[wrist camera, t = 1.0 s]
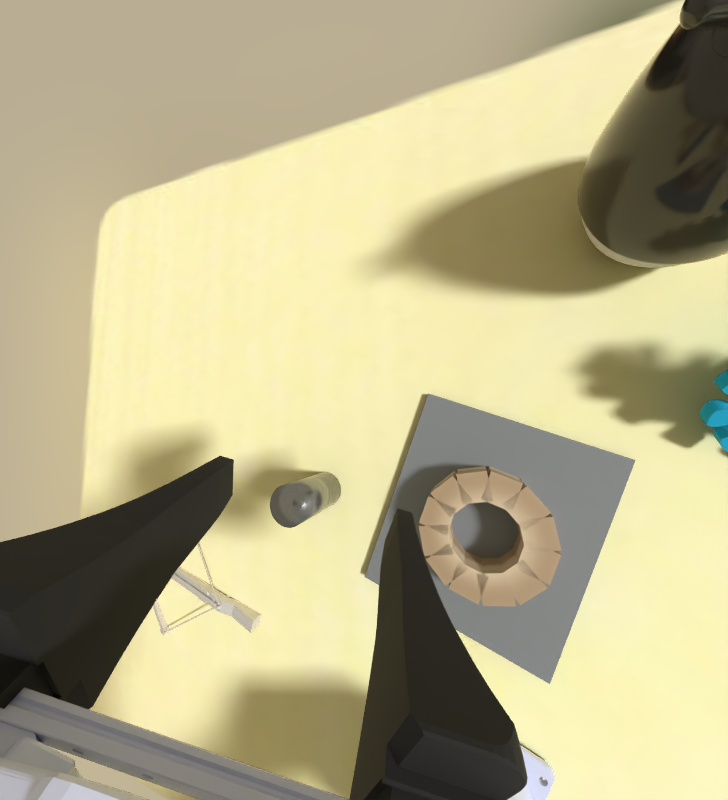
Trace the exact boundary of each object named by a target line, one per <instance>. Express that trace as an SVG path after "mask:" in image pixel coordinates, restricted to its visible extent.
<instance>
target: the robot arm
mask: <svg viewBox="0 0 728 800" xmlns="http://www.w3.org/2000/svg"><path fill="white" fill-rule="evenodd" d="M233 462H234V460H233V459H229V458H226V457H222V456H219V457H217V458H215V459H213V460H211V461H209V462H208V463H206V464H204V465H202V466H200V467H198V468H197V469H195V470H193V471H191V472H189V473H187V474H186V475H184V476H182V477H180V478H178V479H176V480H174V481H172V482H170V483H168V484H166V485H164V486H162V487H160V488H158V489H156V490H154V491H152V492H150V493H148V494H146V495H143V496H141V497H139V498H137V499H134V500H132V501H130V502H127V503H125V504H122V505H120V506H117V507H115V508H112V509H110V510H107V511H104V512H102V513H99V514H96V515H93V516H90V517H87V518H84V519H81V520H78V521H75V522H73V523H70V524H66V525H63V526H60V527H57V528H53V529H50V530H46V531H42V532H39V533H35V534H32V535H28V536H24V537H20V538H16V539H12V540H8V541H4V542H0V800H148V799H145V798H142V797H139V796H137V795H134V794H131V793H128V792H125V791H122V790H119V789H116V788H113V787H109V786H107V785H103V784H100V783H96V782H93V781H89V780H86V779H84V778H83V777H82V776H81V775H80V774H79V772H78V771H77V769H76V768H75V761H74V760H73V759H71V758H69V757H67V756H65V755H63V754H61V753H59V752H58V751H56V750H53V749H52V748H50V747H53V748H56V749H59V750H61V751H64V752H67V753H70V754H73V755H76V756H78V757H81V758H84V759H87V760H90V761H93V762H95V763H98V764H101V765H104V766H107V767H110V768H112V769H115V770H118V771H121V772H124V773H126V774H129V775H132V776H135V777H138V778H141V779H143V780H146V781H149V782H152V783H155V784H158V785H160V786H163V787H166V788H169V789H172V790H174V791H177V792H180V793H183V794H186V795H189V796H191V797H194V798H197V799H200V800H349V799H346V798H343V797H340V796H337V795H335V794H332V793H329V792H326V791H323V790H320V789H317V788H314V787H311V786H309V785H306V784H303V783H300V782H297V781H294V780H291V779H288V778H285V777H282V776H280V775H277V774H274V773H271V772H268V771H265V770H262V769H259V768H256V767H253V766H251V765H248V764H245V763H242V762H239V761H236V760H233V759H230V758H227V757H225V756H222V755H219V754H216V753H213V752H210V751H207V750H204V749H201V748H198V747H196V746H193V745H190V744H187V743H184V742H181V741H178V740H175V739H172V738H169V737H167V736H164V735H161V734H158V733H155V732H152V731H149V730H146V729H143V728H141V727H138V726H135V725H132V724H129V723H126V722H123V721H120V720H117V719H114V718H112V717H109V716H106V715H103V714H100V713H97V712H94V711H91V710H88V709H90V708H91V707H93V705H94V703H95V701H96V700H97V698H98V696H99V694H100V692H101V691H102V689H103V687H104V686H105V684H106V682H107V680H108V679H109V677H110V675H111V673H112V672H113V670H114V668H115V666H116V665H117V663H118V661H119V660H120V658H121V656H122V655H123V653H124V651H125V650H126V648H127V646H128V645H129V643H130V641H131V640H132V638H133V636H134V635H135V633H136V632H137V630H138V628H139V627H140V625H141V623H142V622H143V620H144V619H145V617H146V616H147V614H148V612H149V611H150V609H151V608H152V606H153V605H154V603H155V601H156V600H157V598H158V597H159V595H160V594H161V592H162V591H163V589H164V588H165V586H166V585H167V583H168V582H169V580H170V579H171V577H172V576H173V574H174V573H175V572H176V570H177V569H178V568H179V566H180V565H181V564H182V562H183V561H184V560H185V559H186V557H187V556H188V555H189V554H190V552H191V551H192V550H193V549H194V547H195V546H196V545H197V544H198V542H199V541H200V540H201V539H202V537H203V536H204V535H205V534H206V532H207V531H208V530H209V529H210V527H211V526H212V525H213V524H214V522H215V521H216V520H217V518H218V517H219V516H220V514H221V513H222V511H223V509H224V508H225V506H226V505H227V503H228V501H229V500H230V498H231V496H232V491H233ZM46 745H47V746H46ZM48 746H50V747H48ZM540 777H543V778H545V780H542V779H540ZM553 782H554V772H553V769H552V767H551V766H550V765H549V764H548V763H547V762H546V761H544V760H543V759H541V758H539V757H538V756H536V755H535V754H533V753H532V752H530V751H529V750H527V749H526V748H524V747H523V746H521V745H520V743H519V739H518V736H517V732H516V729H515V726H514V723H513V722H512V720H511V719H510V718H509V716H508V715H507V713H506V712H505V710H504V709H503V707H502V706H501V704H500V703H499V701H498V700H497V699H496V697H495V696H494V694H493V693H492V691H491V689H490V688H489V686H488V685H487V683H486V682H485V680H484V678H483V677H482V675H481V673H480V672H479V670H478V669H477V667H476V665H475V664H474V662H473V660H472V658H471V657H470V655H469V653H468V651H467V649H466V648H465V646H464V644H463V642H462V641H461V639H460V637H459V635H458V633H457V632H456V630H455V628H454V626H453V624H452V622H451V620H450V618H449V616H448V613H447V611H446V609H445V607H444V605H443V603H442V601H441V598H440V596H439V594H438V591H437V589H436V586H435V584H434V581H433V579H432V576H431V574H430V571H429V568H428V565H427V562H426V559H425V556H424V553H423V550H422V547H421V544H420V540H419V537H418V533H417V530H416V525H415V521H414V516H413V514H412V512H408V511H405V510H401V509H398V508H397V510H396V513H395V516H394V518H393V521H392V523H391V526H390V529H389V531H388V534H387V536H386V539H385V543H384V548H383V554H382V561H381V568H380V583H379V599H378V615H377V629H376V639H375V646H374V653H373V660H372V667H371V674H370V680H369V687H368V693H367V700H366V706H365V712H364V718H363V724H362V731H361V737H360V743H359V748H358V754H357V760H356V766H355V772H354V777H353V783H352V789H351V794H350V800H547V797H548V794H549V792H550V789H551V787H552V784H553Z"/></svg>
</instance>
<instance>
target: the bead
mask: <svg viewBox="0 0 728 800" xmlns="http://www.w3.org/2000/svg"><path fill="white" fill-rule="evenodd" d="M480 502H489V503H491V504H493V505H496V506H498V507H500V508H503V509H505V510H507V512H508V513H509V514H510V515H511V516H512V517H513V518H514V520H515V521H516V522H517V527H518V531H519V533H518V535H517V538H516V541H515V543H514V546H513V548H512V549H510V550H509V551H507V552H506V553H504V554H503V555H502V556H500V557H489V558H481V557H479V556H477V555H475V554H473V553H471V552H469V551H467V550H465V549H464V548H463V546H462V545H461V544H460V543H459V541H458V540H457V539H456V538H455V536H454V533H453V528H452V523H451V522H452V519H453V516H454V514H455V513H456V512H458V511H459V510H460V509H462V508H463V507H464V506H466V505H467V504H469V503H480ZM419 523H420V525H419V531H420V536H421V542H422V547H423V552H424V556H427V558H426V561H427V562H428V563H429V565H430V566H431V567H432V569H433V570H434V571H435V573H436V574H437V575H438V577H439V578H440V579H441V581H442V582H443V583H444V585H445V586H446V585H447V584H449V589H450V590H452V591H454V592H456V593H458V594H459V595H461V596H463V597H465V598H467V599H469V600H471V601H472V602H474V603H476V604H478V605H479V602H480V600H481V599H482V604H483V606H516V603H515V599H516V600H517V602H518V603H519V604H520V605H522V604H523V603H525V602H527V601H528V600H530V599H531V598H533V597H534V596H536V595H538V594H539V593H541V592H542V591H544V590H546V589H547V587H546V584H545V583H547V584H549V585H550V584H551V581H552V579H553V576H554V573H555V571H556V568H557V565H558V563H559V560H560V557H561V554H560V552H559V551H562V550H561V546H560V542H559V538H558V534H557V529H556V525H555V521H554V517H553V516H552V515H551V512H550V511H549V510H548V509H547V507H546V506H545V505H544V504H543V503H542V502H541V501H540V500H539V498H538V497H537V496H536V495H535V494H534V493H533V492H532V491H531V490H530V489H529V488H528V486H527V485H526V484H525V483H524V482H523V481H522V480H520V479H519V478H518V477H516V476H513V475H511V474H508V473H505V472H503V471H500V470H498V469H495V468H492V467H490V466H489V468H488V471H487V470H486V466H480V467H472V468H464V469H458V470H457V473H456V472H455V471H453V472H452V473H451V474H450V475H448V476H447V477H446V478H444V479H443V480H442V481H441V482H439V483H438V484H437V485H436V486H434V488H433V489H432V491H431V493H430V494H429V496H428V498H427V501H426V504H425V507H424V510H423V513H422V515H421V518H420V521H419Z"/></svg>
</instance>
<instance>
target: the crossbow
mask: <svg viewBox="0 0 728 800" xmlns="http://www.w3.org/2000/svg"><path fill="white" fill-rule="evenodd" d="M198 547H199V550H200V553H201V556H202V559H203V562H204V565H205V568H206V571H207V574H208V577H209V580H210V583H211V585H209V584H208V583H206V582H205V581H203V580H202V579H200V578H198V577H196V576H195V575H193V574H191V573H189V572H188V571H186V570H184V569H183V568H181V567H179V568H178V569H177V570H176V572H175V573H174V574H173V576H172V577H171V578H172V579H174V580H175V581H176V582H178V583H179V584H181V585H182V586H183V587H185V588H186V589H188V590H189V591H190V592H192V593H193V594H195V595H196V596H197V597H199V599H200V600H202V601H203V602H206V603H207V604H209V605H210V606H212V607H213V608H214V609H216V610H217V611H219V612H220V613H224V614H227V615H230V616H232V617H233V618H234V619H235V620H237V621H238V622H239V623H240V624H241V625H242V626H243V627H245V628H246V629H247V630H248V631H249V632H250V633H251V632H252V631H253V630H254V629H256V628H257V627H258V626H259V624H260V620H261V615H262V614H260V613H258V612H257V611H255V610H253V609H251V608H250V607H248V606H246V605H245V604H243V603H241V602H239V601H238V600H235V599H232V598H230V596H229V595H224V594H223V593H221V592H220V591H218V590H217V589H215V588H214V587H213V585H212V582H211V579H210V576H209V573H208V570H207V567H206V564H205V561H204V558H203V555H202V552H201V549H200V546H199V543H198ZM153 607H154V611H155V614H156V616H157V619H158V622H159V625H160V627H161V629H160V630H161V633H162V634H163V635H164V634H166V633H168V632H169V630H171V629H173V628H175V627H177V626H179V625H181V624H183V623H185V622H187V621H189V620H191V619H193V618H195V617H197V616H199V615H201V614H203V613H205V612H207V611H209V610H211V609H213V608H211V609H209V610H207V611H205V612H203V613H201V614H199V615H197V616H195V617H193V618H191V619H189V620H187V621H185V622H183V623H181V624H179V625H177V626H175V627H173V628H171V629H169V628H168V626H167V623H166V621H165V619H164V616H163V614H162V612H161V609H160V606H159V603H158V600H156V601H155V603H154V605H153Z"/></svg>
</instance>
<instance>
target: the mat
mask: <svg viewBox="0 0 728 800" xmlns="http://www.w3.org/2000/svg"><path fill="white" fill-rule="evenodd" d="M634 462H635V460H633V459H630V458H627V457H624V456H621V455H617V454H614V453H611V452H608V451H605V450H602V449H599V448H596V447H593V446H590V445H586V444H583V443H580V442H577V441H574V440H571V439H568V438H565V437H562V436H559V435H555V434H552V433H549V432H546V431H543V430H540V429H537V428H534V427H531V426H527V425H524V424H521V423H518V422H515V421H512V420H509V419H506V418H503V417H500V416H496V415H493V414H490V413H487V412H484V411H481V410H478V409H475V408H472V407H468V406H465V405H462V404H459V403H456V402H453V401H450V400H447V399H444V398H441V397H437V396H434V395H431V394H428V396H427V399H426V402H425V405H424V408H423V411H422V414H421V417H420V419H419V422H418V425H417V428H416V431H415V434H414V437H413V439H412V442H411V445H410V448H409V451H408V454H407V457H406V460H405V462H404V465H403V468H402V471H401V474H400V477H399V480H398V483H397V485H396V488H395V491H394V494H393V497H392V500H391V503H390V506H389V508H388V511H387V514H386V517H385V520H384V523H383V526H382V529H381V531H380V534H379V537H378V540H377V543H376V546H375V549H374V551H373V554H372V557H371V560H370V563H369V566H368V569H367V572H366V574H365V577H366V578H368V579H370V580H371V581H373V582H375V583H376V584H378V585H379V583H380V568H381V561H382V554H383V548H384V543H385V539H386V536H387V534H388V531H389V529H390V526H391V523H392V521H393V518H394V516H395V513H396V510H397V508H398V509H401V510H405V511H408V512H412V514H413V516H414V521H415V525H416V530H417V533H418V537H419V540H420V544H421V547H422V542H421V536H420V531H419V525H420V523H419V521H420V518H421V515H422V513H423V510H424V507H425V504H426V501H427V498H428V496H429V494H430V493H431V491H432V489H433V488H434V486H436V485H437V484H438V483H439V482H441V481H442V480H443V479H444V478H446V477H447V476H448V475H450V474H451V473H452V472H453V471H455V472H456V473H457V470H458V469H464V468H472V467H480V466H486V470H487V471H488V468H489V466H490V467H492V468H495V469H498V470H500V471H503V472H505V473H508V474H511V475H513V476H516V477H518V478H519V479H520V480H522V481H523V482H524V483H525V484H526V485H527V486H528V488H529V489H530V490H531V491H532V492H533V493H534V494H535V495H536V496H537V497H538V498H539V500H540V501H541V502H542V503H543V504H544V505H545V506H546V507H547V509H548V510H549V511H550V512H551V515H552V516H553V517H554V521H555V525H556V529H557V534H558V538H559V542H560V546H561V550H562V551H559V552H560V554H561V557H560V560H559V563H558V565H557V568H556V571H555V573H554V576H553V579H552V581H551V584H550V585H549V584H547V583H545V584H546V587H547V589H546V590H544V591H542V592H541V593H539V594H538V595H536V596H534V597H533V598H531V599H530V600H528V601H527V602H525V603H523V604H522V605H520V604H519V603H518V602H517V600H516V599H515V603H516V606H483V604H482V599H481V600H480V602H479V605H478V604H476V603H474V602H472V601H471V600H469V599H467V598H465V597H463V596H461V595H459V594H458V593H456V592H454V591H452V590H450V589H449V584H447V585H446V586H445V585H444V583H443V582H442V581H441V579H440V578H439V577H438V575H437V574H436V573H435V571H434V570H433V569H432V567H431V566H430V565H429V563H428V562H427V561H426V562H427V565H428V568H429V571H430V574H431V576H432V579H433V581H434V584H435V586H436V589H437V591H438V594H439V596H440V598H441V601H442V603H443V605H444V607H445V609H446V611H447V613H448V616H449V618H450V620H451V622H452V624H453V626H454V628H455V629H456V630H458V631H459V632H461V633H463V634H465V635H466V636H468V637H470V638H471V639H473V640H475V641H477V642H478V643H480V644H482V645H484V646H485V647H487V648H489V649H490V650H492V651H494V652H496V653H497V654H499V655H501V656H503V657H504V658H506V659H508V660H509V661H511V662H513V663H515V664H516V665H518V666H520V667H522V668H523V669H525V670H527V671H528V672H530V673H532V674H534V675H535V676H537V677H539V678H540V679H542V680H544V681H546V682H547V683H549V684H550V682H551V679H552V677H553V674H554V671H555V669H556V666H557V664H558V661H559V658H560V656H561V653H562V650H563V648H564V645H565V643H566V640H567V637H568V635H569V632H570V630H571V627H572V624H573V622H574V619H575V617H576V614H577V611H578V609H579V606H580V603H581V601H582V598H583V596H584V593H585V590H586V588H587V585H588V583H589V580H590V577H591V575H592V572H593V569H594V567H595V564H596V562H597V559H598V556H599V554H600V551H601V549H602V546H603V543H604V541H605V538H606V536H607V533H608V530H609V528H610V525H611V522H612V520H613V517H614V515H615V512H616V509H617V507H618V504H619V502H620V499H621V496H622V494H623V491H624V489H625V486H626V483H627V481H628V478H629V475H630V473H631V470H632V468H633V465H634ZM451 523H452V528H453V533H454V536H455V538H456V539H457V540H458V541H459V543H460V544H461V545H462V546H463V548H464V549H465V550H467V551H469V552H471V553H473V554H475V555H477V556H479V557H481V558H489V557H500V556H502V555H503V554H504V553H506V552H507V551H509V550H510V549H512V548H513V546H514V543H515V541H516V538H517V535H518V533H519V531H518V527H517V522H516V521H515V520H514V518H513V517H512V516H511V515H510V514H509V513H508V512H507V510H505V509H503V508H500V507H498V506H496V505H493V504H491V503H489V502H480V503H469V504H467V505H466V506H464V507H463V508H462V509H460V510H459V511H458V512H456V513H455V514H454V516H453V519H452V522H451ZM422 550H423V547H422ZM423 553H424V552H423ZM426 558H427V556H425V559H426Z"/></svg>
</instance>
